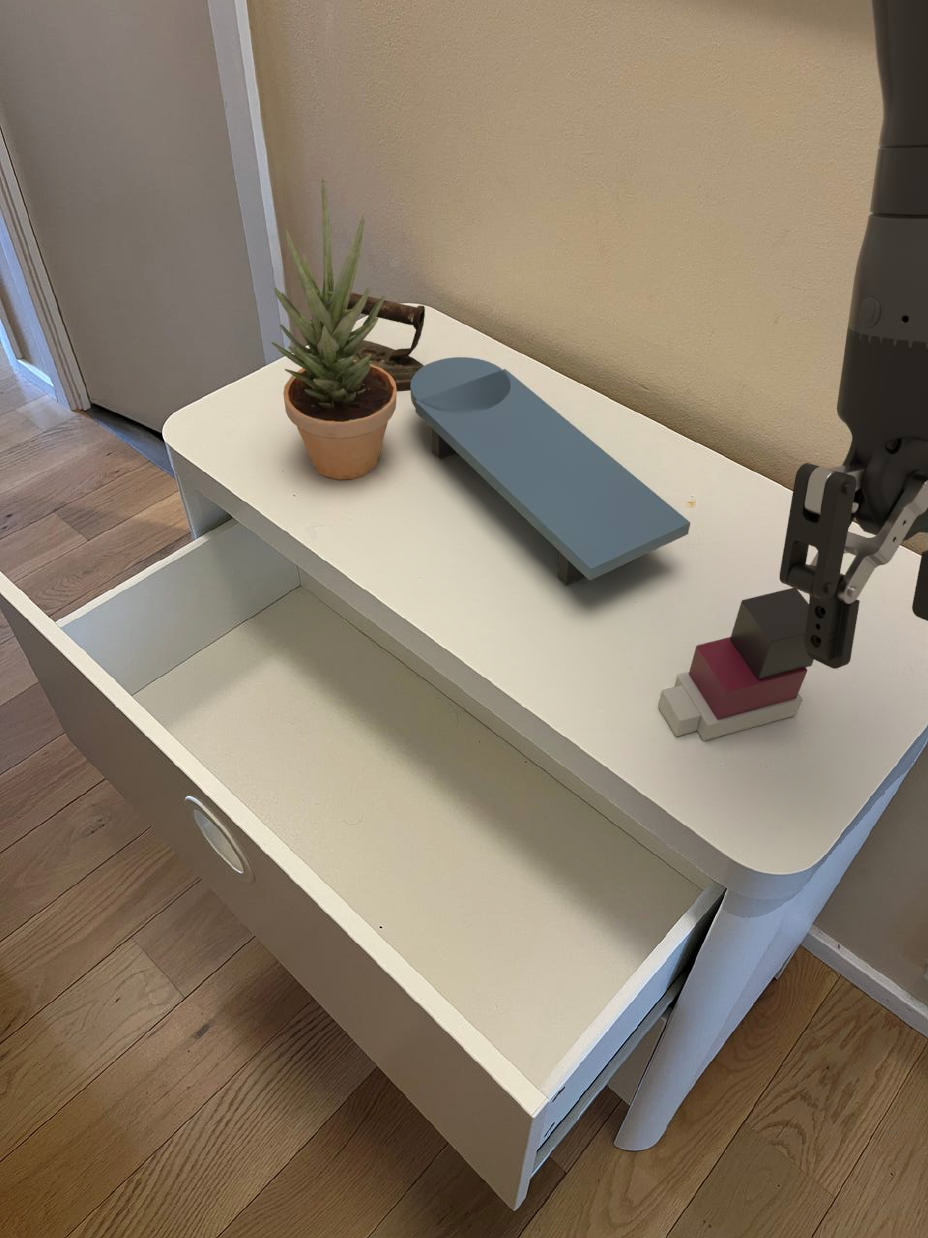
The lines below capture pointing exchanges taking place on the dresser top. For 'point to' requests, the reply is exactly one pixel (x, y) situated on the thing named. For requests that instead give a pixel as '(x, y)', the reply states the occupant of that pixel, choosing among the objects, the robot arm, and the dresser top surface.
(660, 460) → the dresser top surface
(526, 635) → the dresser top surface
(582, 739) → the dresser top surface
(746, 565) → the dresser top surface
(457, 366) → the ironing board
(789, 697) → the stacked block tower
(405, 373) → the clothes iron
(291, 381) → the potted plant
